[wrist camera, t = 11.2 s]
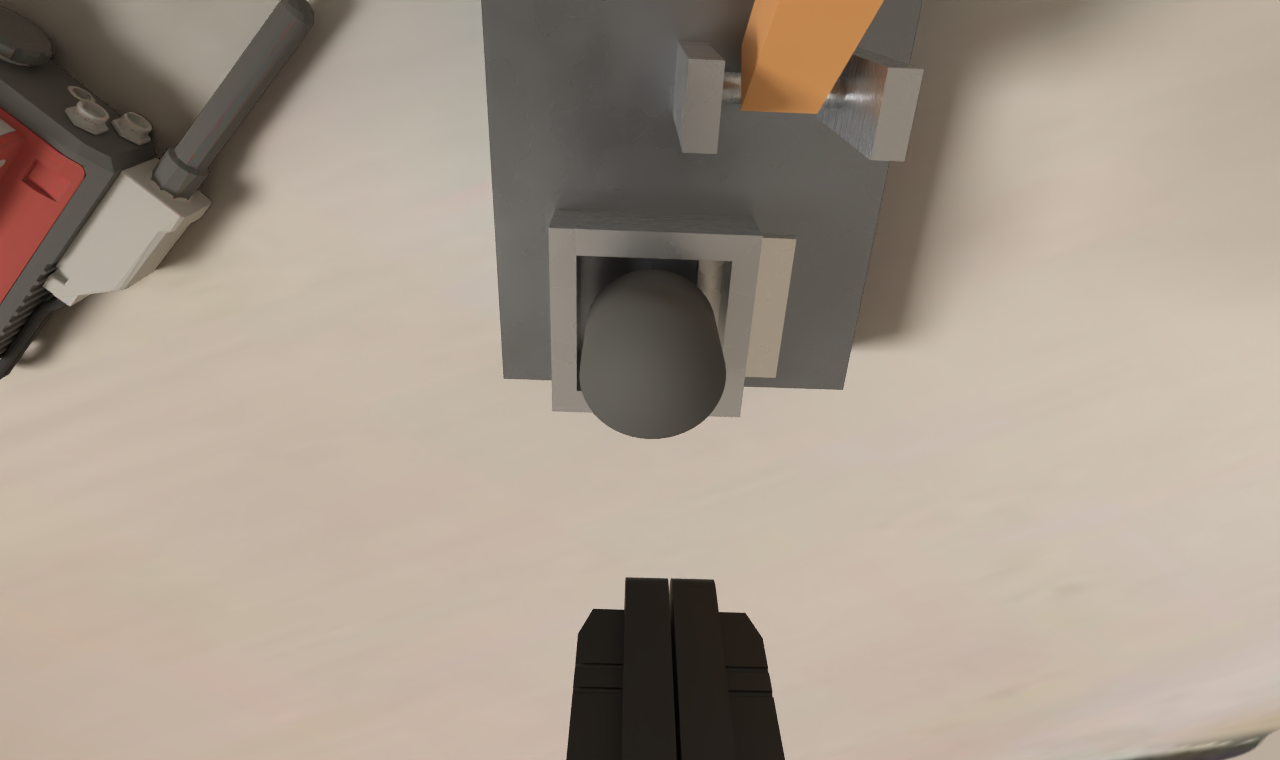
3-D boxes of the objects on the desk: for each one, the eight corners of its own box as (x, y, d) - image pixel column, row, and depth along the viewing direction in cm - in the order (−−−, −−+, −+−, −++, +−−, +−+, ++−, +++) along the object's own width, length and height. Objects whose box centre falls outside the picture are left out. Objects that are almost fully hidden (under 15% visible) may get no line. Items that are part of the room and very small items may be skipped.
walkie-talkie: (64, 401, 30) (351, 27, 23) (-20, 464, 26) (295, 38, 19) (-169, 254, 27) (85, -228, 20) (-304, 301, 23) (-46, -276, 16)
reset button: (585, 384, 23) (579, 436, 21) (586, 266, 21) (579, 307, 19) (709, 388, 23) (718, 441, 21) (721, 271, 21) (733, 313, 19)
